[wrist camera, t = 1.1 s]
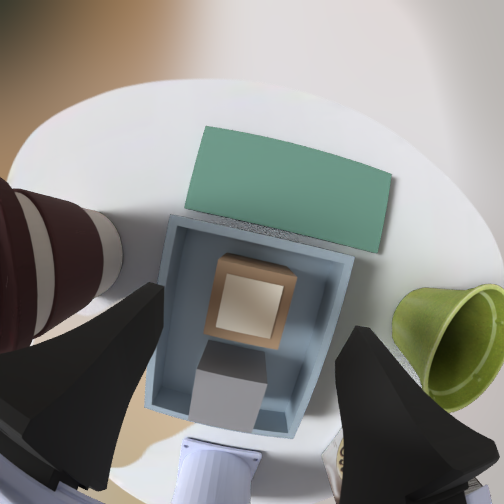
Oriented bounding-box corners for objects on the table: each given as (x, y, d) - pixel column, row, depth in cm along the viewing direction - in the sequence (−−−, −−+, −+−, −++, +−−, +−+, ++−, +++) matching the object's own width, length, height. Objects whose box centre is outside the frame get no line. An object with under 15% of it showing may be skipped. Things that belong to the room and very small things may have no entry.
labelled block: (272, 323, 21) (277, 350, 16) (214, 310, 21) (202, 334, 16) (286, 266, 20) (297, 277, 15) (226, 252, 20) (217, 259, 15)
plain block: (252, 396, 21) (251, 433, 16) (199, 385, 21) (188, 419, 16) (264, 351, 21) (267, 384, 16) (208, 339, 21) (196, 369, 16)
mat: (373, 252, 21) (377, 253, 20) (186, 208, 21) (184, 207, 20) (387, 175, 20) (391, 174, 19) (207, 129, 20) (205, 125, 19)
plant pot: (352, 340, 21) (398, 392, 13) (412, 247, 21) (481, 256, 12) (415, 378, 22) (461, 424, 13) (466, 300, 21) (525, 321, 12)
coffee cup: (138, 189, 20) (-10, 142, 6) (144, 311, 21) (21, 408, 6) (50, 201, 21) (-79, 188, 6) (56, 304, 21) (-62, 355, 6)
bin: (288, 415, 22) (293, 438, 18) (156, 386, 22) (144, 407, 18) (339, 252, 21) (354, 256, 17) (183, 216, 21) (170, 214, 17)
